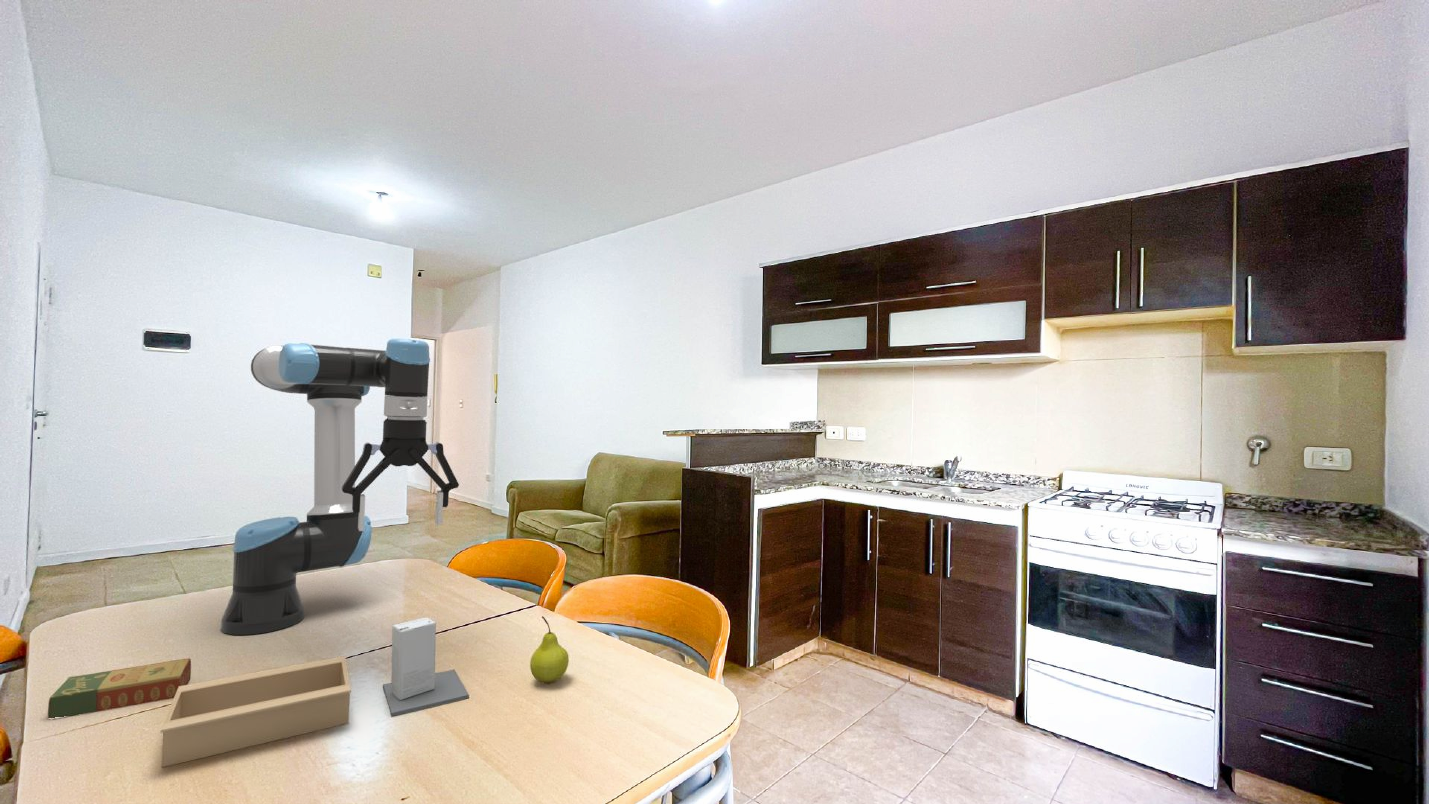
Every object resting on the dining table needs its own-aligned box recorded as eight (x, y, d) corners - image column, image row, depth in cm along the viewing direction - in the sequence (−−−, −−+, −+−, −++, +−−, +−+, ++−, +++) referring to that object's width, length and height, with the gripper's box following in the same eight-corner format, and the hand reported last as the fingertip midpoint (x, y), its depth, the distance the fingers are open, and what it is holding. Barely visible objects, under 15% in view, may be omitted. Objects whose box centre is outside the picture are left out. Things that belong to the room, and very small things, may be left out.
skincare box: (425, 682, 109) (427, 615, 109) (435, 690, 106) (437, 621, 106) (388, 693, 105) (391, 623, 105) (398, 702, 102) (401, 630, 102)
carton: (180, 699, 103) (181, 674, 103) (45, 723, 94) (46, 696, 94) (190, 679, 110) (191, 656, 110) (66, 700, 101) (67, 675, 101)
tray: (177, 724, 94) (178, 686, 94) (343, 690, 107) (344, 656, 107) (158, 774, 82) (160, 730, 82) (349, 728, 94) (350, 690, 94)
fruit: (575, 677, 114) (577, 613, 114) (554, 692, 108) (556, 625, 108) (544, 671, 116) (546, 608, 117) (522, 686, 110) (524, 620, 110)
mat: (383, 687, 108) (383, 684, 108) (454, 672, 115) (454, 669, 115) (391, 716, 98) (391, 713, 98) (468, 698, 105) (469, 694, 105)
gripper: (330, 418, 107) (326, 536, 108) (476, 420, 122) (472, 524, 122) (329, 416, 114) (324, 528, 114) (468, 418, 128) (464, 517, 128)
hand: (401, 526), depth 118 cm, fingers open, 13 cm apart
